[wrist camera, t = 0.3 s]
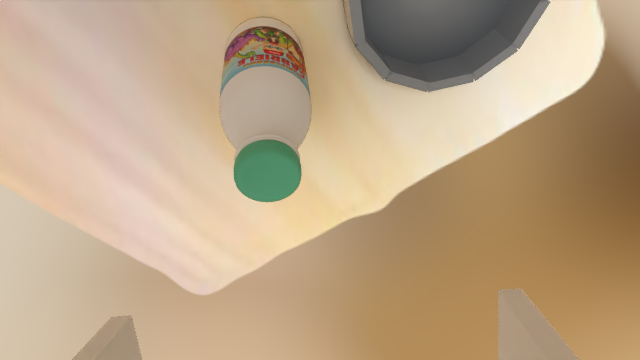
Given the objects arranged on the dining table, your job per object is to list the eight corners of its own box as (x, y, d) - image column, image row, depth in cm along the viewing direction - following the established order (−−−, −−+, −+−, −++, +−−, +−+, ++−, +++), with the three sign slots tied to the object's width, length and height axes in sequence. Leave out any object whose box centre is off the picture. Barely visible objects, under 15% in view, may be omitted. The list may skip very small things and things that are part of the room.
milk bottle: (302, 84, 46) (324, 215, 31) (231, 88, 46) (218, 223, 31) (301, 13, 41) (325, 129, 26) (220, 16, 41) (199, 136, 26)
